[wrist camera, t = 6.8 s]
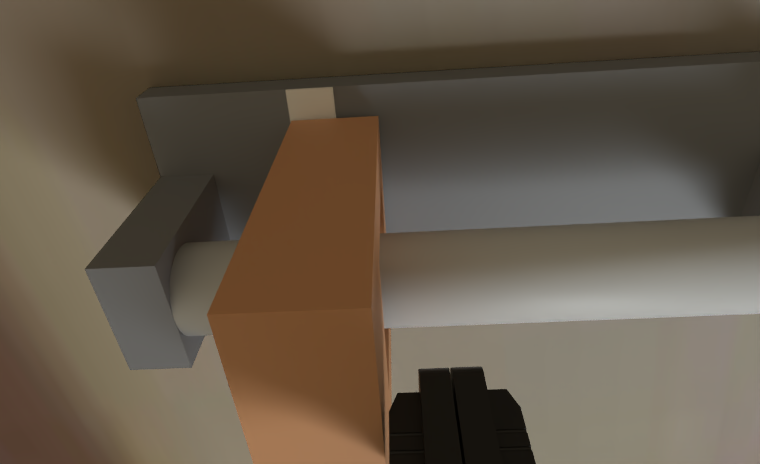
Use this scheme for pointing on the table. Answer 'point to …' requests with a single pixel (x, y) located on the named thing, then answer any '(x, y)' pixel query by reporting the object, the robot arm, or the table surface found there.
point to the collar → (311, 303)
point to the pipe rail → (468, 195)
